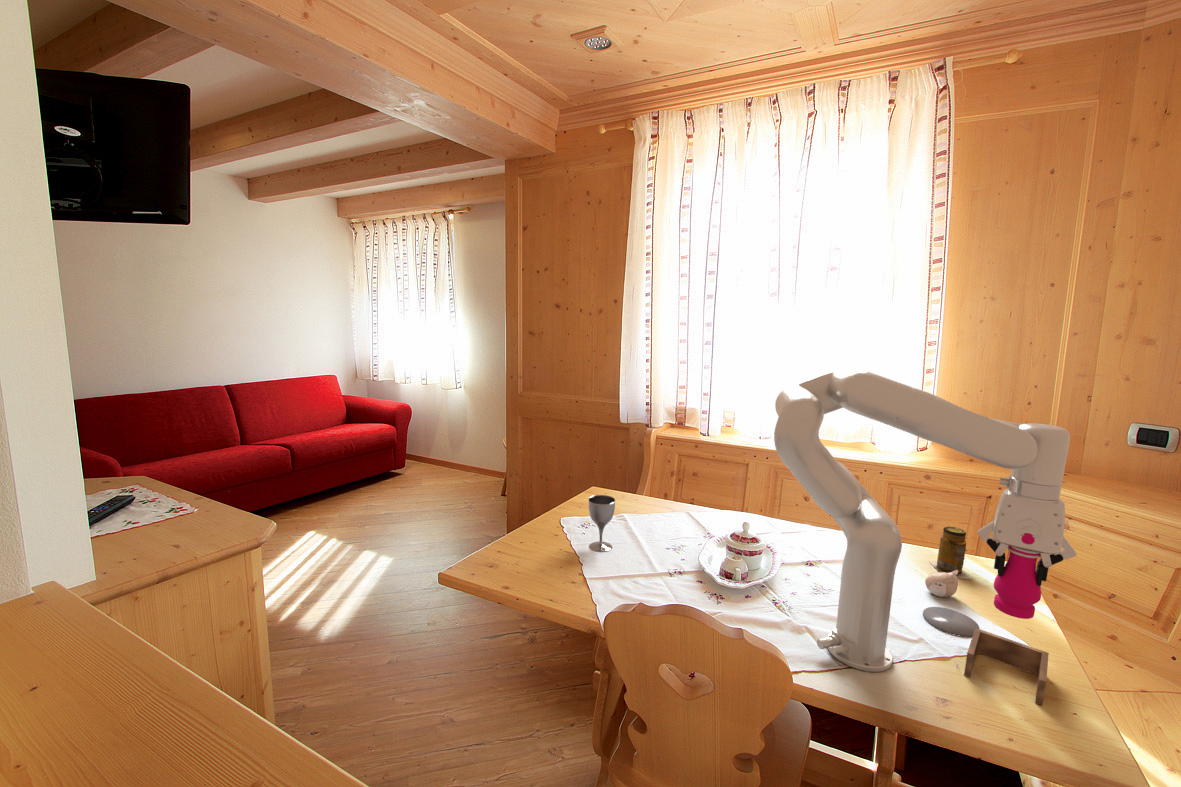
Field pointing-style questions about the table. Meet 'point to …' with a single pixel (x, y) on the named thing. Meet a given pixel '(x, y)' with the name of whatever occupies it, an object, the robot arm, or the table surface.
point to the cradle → (1009, 657)
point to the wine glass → (601, 518)
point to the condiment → (952, 552)
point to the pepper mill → (1018, 582)
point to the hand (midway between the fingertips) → (1018, 577)
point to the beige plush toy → (942, 583)
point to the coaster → (950, 621)
